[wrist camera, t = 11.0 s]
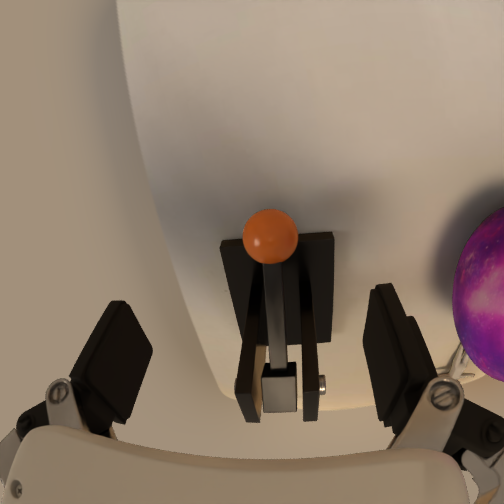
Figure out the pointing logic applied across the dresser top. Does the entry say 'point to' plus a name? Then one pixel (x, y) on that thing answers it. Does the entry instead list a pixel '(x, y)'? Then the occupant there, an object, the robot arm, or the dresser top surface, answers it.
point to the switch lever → (274, 303)
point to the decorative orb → (482, 296)
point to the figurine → (459, 366)
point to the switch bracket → (296, 313)
